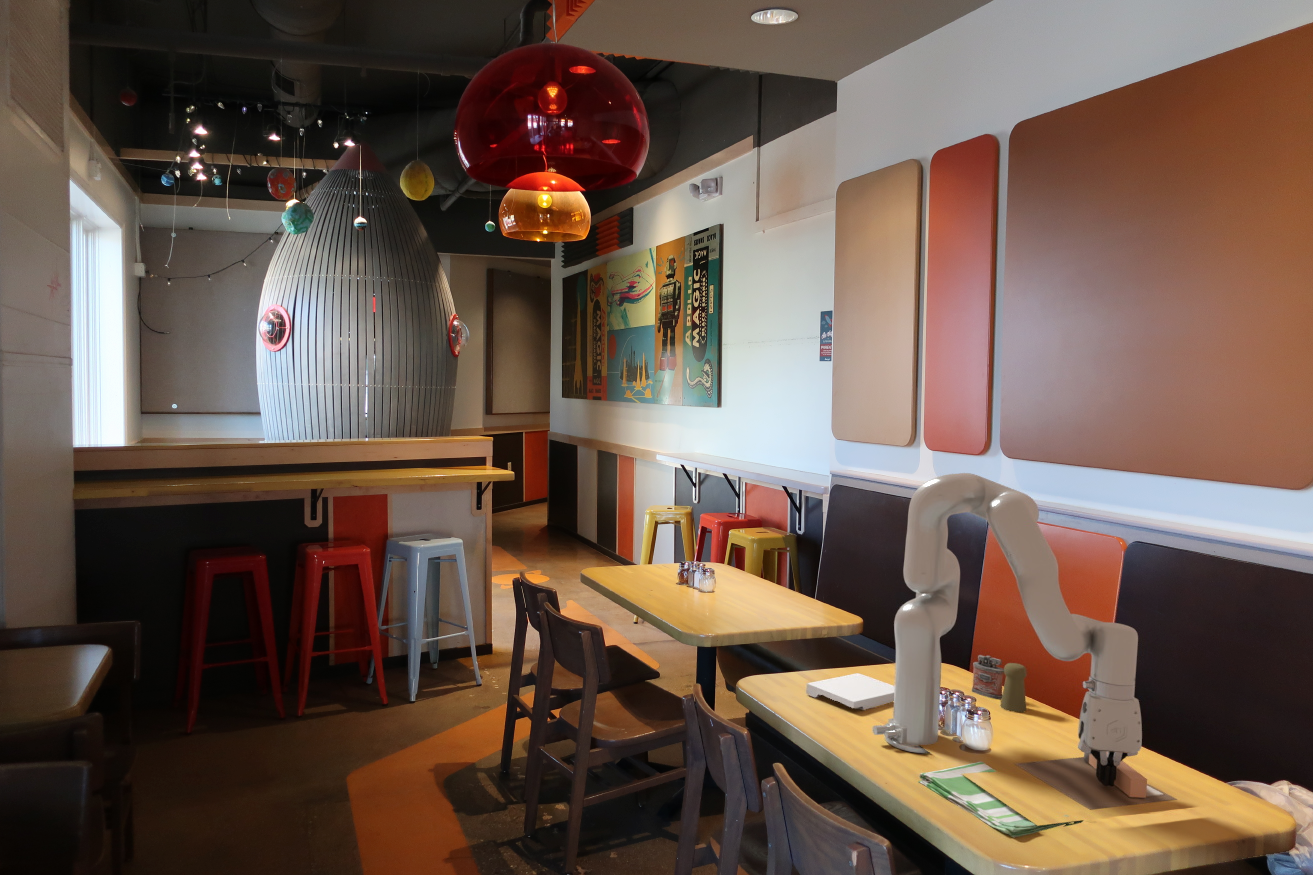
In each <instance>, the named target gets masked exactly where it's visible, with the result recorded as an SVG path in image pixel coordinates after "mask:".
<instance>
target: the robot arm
mask: <svg viewBox="0 0 1313 875" xmlns="http://www.w3.org/2000/svg"><path fill="white" fill-rule="evenodd" d="M962 513H969V514H971V515H974V516H976V517H979V518H982V519H984V520H986V522H987V523H988V526H989V528H990V530H991V532H992V534H993V536H994V538H995V540H996V542H997V543H998V546H999V547H1000V549H1001V551H1002V553H1003V554H1004V556H1005V558H1006V561H1007V563H1008V564H1009V567H1010V568H1011V571H1012V573H1013V575H1014V577H1015V580H1016V585H1017V589H1018V591H1019V594H1020V597H1021V601H1022V604H1023V607H1024V610H1025V612H1026V615H1027V617H1028V619H1029V622H1030V624H1031V625H1032V628H1033V629H1034V631H1035V634H1036V636H1037V637H1038V639H1039V641H1040V642H1041V644H1042V646H1043V647H1044V649H1045V650H1046V652H1048V653H1049V655H1051V656H1052V657H1053V658H1054V659H1057V660H1059V661H1063V662H1072V661H1075V660H1077V659H1079V658H1081V657H1082V656H1083V655H1084V654H1087V653H1088V654H1090V655H1091V662H1090V664H1091V665H1090V676H1088V680H1086V681H1085V680H1084V681H1083V682H1082V688H1084V689H1088V690H1089V691H1086V692H1085V694H1084V697H1083V701H1082V705H1081V709H1080V715H1079V722H1078V731H1077V732H1078V739H1079V741H1078V745H1077V749H1078V750H1080V752H1082V753H1084V752H1085V753H1088V754H1092V755H1093V756H1094V757H1095V759H1096V760H1097V769H1096V777H1097V778H1098V780H1099V781H1100V782H1101V783H1102V784H1103V785H1104V786H1108V785H1109V786H1112V787H1113V786H1114V780H1116V770H1117V766H1119V765H1120V762H1121V761H1123V760H1124V759H1126V758H1127V757H1135V756H1137V755H1138V754H1139V752H1140V750H1141V749H1142V743H1143V742H1142V739H1143V731H1142V730H1143V729H1142V728H1143V727H1142V714H1141V705H1140V702H1139V701H1140V700H1139V699H1138V698H1136V697H1135V689H1136V688H1135V687H1136V674H1137V673H1136V672H1137V661H1138V660H1137V658H1138V657H1137V656H1138V646H1139V645H1138V644H1139V643H1138V642H1139V635H1138V632H1137V631H1136V629H1135V628H1133V627H1131V626H1129V625H1126V624H1123V623H1117V622H1109V621H1107V622H1106V621H1105V622H1104V621H1101V620H1097V619H1094V618H1091V617H1088V616H1085V615H1080V614H1076V613H1071V612H1070V610H1069V609H1068V606H1067V605H1066V602H1065V599H1064V597H1063V594H1062V591H1061V588H1060V581H1059V564H1058V560H1057V558H1056V555H1055V553H1054V552H1053V550H1052V548H1051V546H1050V545H1049V543H1048V541H1047V539H1046V537H1045V535H1044V532H1042V530H1041V528H1040V525H1039V524H1038V521H1039V516H1040V509H1039V507H1038V504H1037V503H1036V501H1035V500H1034V499H1033V498H1032V497H1031V496H1029V495H1028V494H1026V493H1024V492H1022V491H1020V490H1017V489H1014V488H1011V487H1008V486H1005V485H1004V484H1001V483H998V482H997V481H996V482H995V481H992V480H990V479H987V478H986V477H983V476H980V475H977V474H974V473H970V472H969V473H968V472H962V473H961V472H960V473H950V474H943V475H940V476H937V477H934V478H931V479H930V480H928V481H926V482H924V483H923V484H921V485H920V486H919V487H918V488H917V489H916V490H915V492H914V493H913V495H912V497H911V498H910V502H909V506H908V514H907V527H906V528H907V529H906V537H905V550H904V562H903V570H902V571H903V572H902V574H903V579H904V583H905V584H906V587H908V588H909V589H910V590H911V591H912V592H914V593H915V598H912V599H910V600H908V601H906V602H905V603H904V604H902V605H901V606H900V607H899V609H898V610H897V612H896V614H895V617H894V621H893V623H894V624H893V626H894V642H895V676H894V686H895V691H894V702H893V711H892V712H893V714H892V715H893V717H892V718H888V723H887V722H886V723H885V724H884V725H882V724H878V725H873V726H872V733H873V735H874V736H878V735H883V736H884V740H885V741H886V742H887V744H889V745H891V746H893V747H895V748H896V749H899V750H903V751H906V752H909V753H916V754H931V752H930V751H929V750H927V749H926V748H924V747H923V746H926V745H927V746H928V745H932V744H933V745H934V744H936V743H937V742H938V739H939V723H940V722H939V719H940V704H941V702H940V700H941V683H942V682H941V679H942V653H941V651H942V650H941V643H940V642H941V641H940V638H941V637H942V636H944V635H946V634H947V633H948V632H949V631H951V630H952V628H953V627H954V626H955V624H956V620H957V617H958V616H957V615H958V606H959V605H958V604H959V596H960V595H959V594H960V581H961V568H960V563H959V560H958V558H957V556H956V555H955V554H954V553H953V552H952V550H950V549H949V548H948V537H949V528H948V519H949V518H950V516H952V515H959V514H962ZM922 745H923V746H922ZM1106 751H1108V754H1107V752H1106Z"/></svg>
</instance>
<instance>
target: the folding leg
mask: <svg viewBox="0 0 1313 875" xmlns="http://www.w3.org/2000/svg"><path fill="white" fill-rule="evenodd" d="M1106 752H1107V754H1108V751H1106ZM1083 755H1084V756H1083V757H1084V761H1085V762H1087V763H1089V764H1090V765H1092V766H1093V767H1094V768H1095V769H1097V760H1096V759H1095V757H1094V756H1093V755H1092V754H1088V753H1085V752H1083ZM1114 784H1115V785H1116V786H1117V787H1118V788H1120V789H1121V790H1122V791H1123V792H1124V793H1126V794H1127V795H1128V796H1129V797H1141V798H1146V791H1147V784H1148V778H1146V777H1145V776H1143V775H1142V774H1141V773H1140V772H1138V771H1137V770H1136V769H1134V768H1133V767H1132V766H1130V765H1129V764H1127V763H1126V761H1123V760H1122V761H1121V762H1120V765H1119V766H1117V770H1116V780H1114Z"/></svg>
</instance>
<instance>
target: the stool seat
mask: <svg viewBox="0 0 1313 875" xmlns="http://www.w3.org/2000/svg"><path fill="white" fill-rule="evenodd" d="M1014 765H1015V766H1016V767H1018V768H1021V769H1022V770H1024V771H1025V772H1027V773H1029V774H1030V775H1032V776H1034V777H1035V778H1037V779H1039V780H1040V781H1042V782H1044V783H1046V784H1047V785H1048V786H1050V787H1052V788H1054V789H1055V790H1057V791H1058V792H1060V793H1062V794H1063V795H1065V796H1067V797H1068V798H1070V799H1072V800H1073V801H1075V802H1076V803H1078V804H1080V805H1081V806H1083V807H1085V808H1087V809H1088V810H1091V811H1092V810H1098V809H1107V808H1109V809H1110V808H1116V807H1125V806H1126V807H1127V806H1132V805H1133V806H1135V805H1141V804H1142V805H1143V804H1151V803H1159V802H1160V803H1161V802H1167V801H1168V802H1169V801H1175V800H1176V801H1177V800H1178V799H1177V798H1176V797H1174V796H1172V795H1170V794H1168V793H1166V792H1164V791H1162V790H1160V789H1158V788H1157V787H1155V786H1152V785H1151V784H1149V783H1147V791H1146V798H1141V797H1129V796H1128V795H1127V794H1126V793H1124V792H1123V791H1122V790H1121V789H1120V788H1118V787H1117V786H1116V785H1115V784H1114V786H1113V787H1112V786H1109V785H1108V786H1104V785H1103V784H1102V783H1101V782H1100V781H1099V780H1098V778H1097V777H1096V769H1095V768H1094V767H1093V766H1092V765H1090V764H1089V763H1087V762H1085V761H1084V756H1081V757H1080V756H1079V757H1071V758H1070V757H1069V758H1068V757H1067V758H1061V759H1060V758H1059V759H1058V758H1057V759H1050V760H1048V759H1047V760H1039V761H1030V762H1029V761H1028V762H1018V763H1016V762H1015V763H1014Z"/></svg>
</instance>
